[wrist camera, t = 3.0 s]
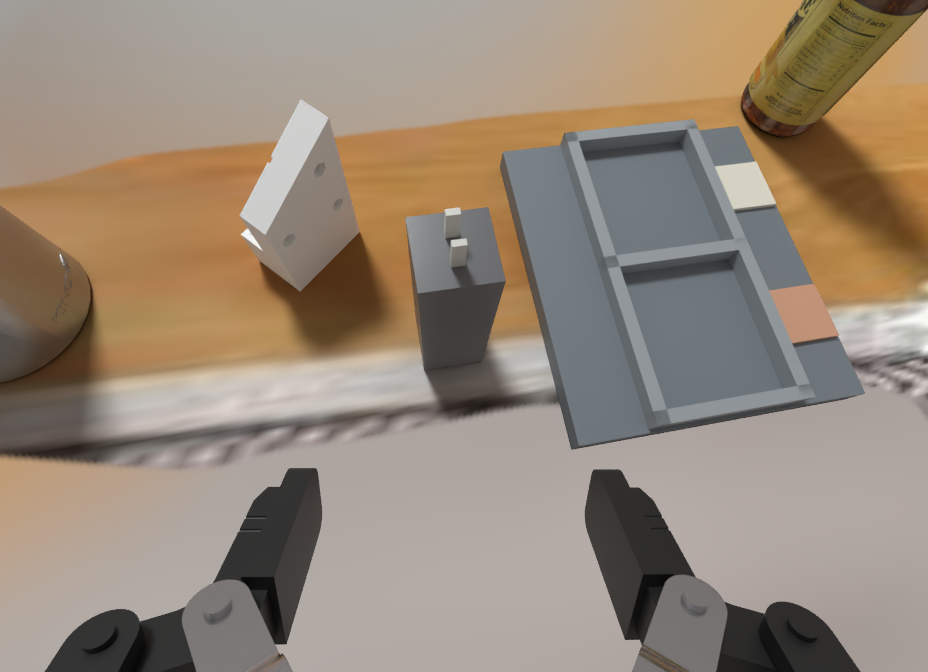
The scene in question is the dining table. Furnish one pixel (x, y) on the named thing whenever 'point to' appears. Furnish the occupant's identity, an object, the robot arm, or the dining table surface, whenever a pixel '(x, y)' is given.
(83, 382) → the dining table surface
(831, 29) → the sauce bottle
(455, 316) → the plug
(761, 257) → the grey tray
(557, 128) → the dining table surface
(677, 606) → the robot arm
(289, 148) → the white wedge bracket
